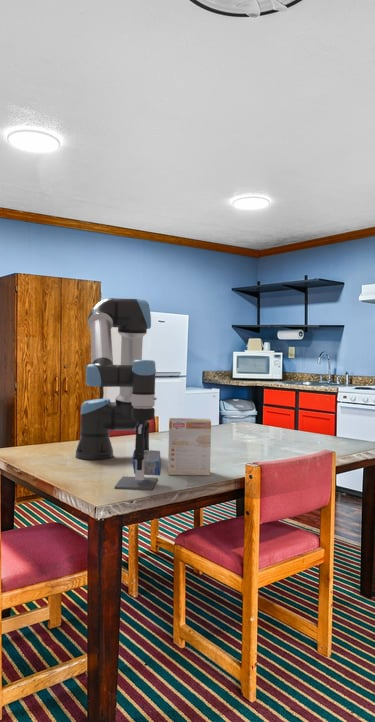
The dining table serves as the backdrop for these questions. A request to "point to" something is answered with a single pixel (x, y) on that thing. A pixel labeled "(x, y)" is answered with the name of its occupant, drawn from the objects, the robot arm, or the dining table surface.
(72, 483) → the dining table surface
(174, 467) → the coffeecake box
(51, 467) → the dining table surface
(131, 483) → the mat
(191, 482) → the dining table surface
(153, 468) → the medicine box
